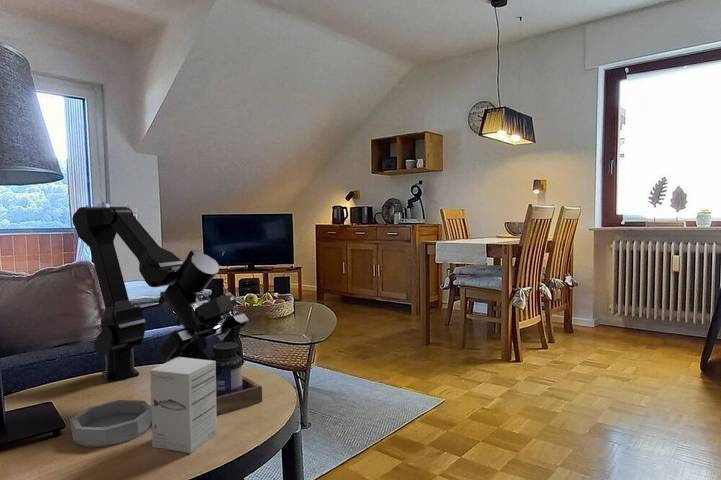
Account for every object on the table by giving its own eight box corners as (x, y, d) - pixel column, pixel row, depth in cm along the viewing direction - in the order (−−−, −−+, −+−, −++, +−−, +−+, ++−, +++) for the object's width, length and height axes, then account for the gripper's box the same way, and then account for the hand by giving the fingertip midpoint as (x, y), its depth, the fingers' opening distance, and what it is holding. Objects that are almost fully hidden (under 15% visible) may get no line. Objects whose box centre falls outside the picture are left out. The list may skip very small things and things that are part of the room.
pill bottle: (203, 403, 92) (201, 347, 91) (226, 392, 97) (224, 339, 97) (227, 409, 89) (226, 351, 88) (249, 398, 94) (248, 343, 94)
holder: (191, 399, 94) (191, 384, 94) (239, 387, 100) (238, 373, 100) (212, 416, 86) (212, 400, 86) (262, 401, 93) (261, 386, 92)
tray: (67, 428, 82) (66, 412, 82) (140, 409, 89) (139, 394, 89) (80, 454, 73) (79, 437, 73) (160, 431, 80) (159, 415, 80)
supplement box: (150, 448, 75) (147, 369, 74) (181, 427, 82) (179, 355, 81) (190, 455, 72) (187, 373, 72) (219, 433, 79) (216, 359, 79)
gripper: (169, 288, 85) (217, 357, 81) (241, 275, 102) (284, 331, 97) (141, 326, 90) (185, 394, 85) (215, 308, 106) (254, 364, 101)
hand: (231, 368), depth 92 cm, fingers closed on pill bottle, 6 cm apart
